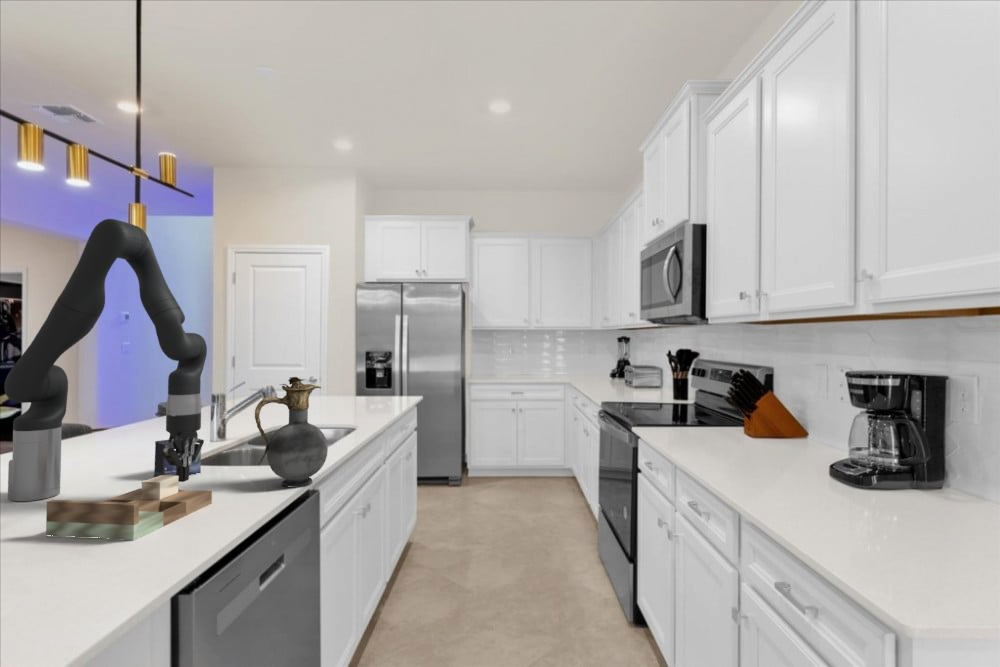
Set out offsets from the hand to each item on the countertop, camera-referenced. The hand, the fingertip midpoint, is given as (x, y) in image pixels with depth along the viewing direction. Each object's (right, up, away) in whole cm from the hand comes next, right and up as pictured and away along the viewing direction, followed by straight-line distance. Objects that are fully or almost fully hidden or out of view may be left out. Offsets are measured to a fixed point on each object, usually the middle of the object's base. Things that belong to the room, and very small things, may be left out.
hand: (182, 480), depth 130 cm
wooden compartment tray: (-1, -4, -15) cm, 15 cm away
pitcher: (+22, -5, +13) cm, 26 cm away
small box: (-15, -5, +23) cm, 28 cm away
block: (-1, -1, -8) cm, 8 cm away
